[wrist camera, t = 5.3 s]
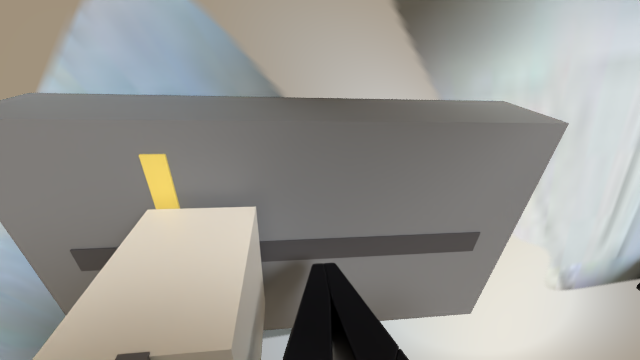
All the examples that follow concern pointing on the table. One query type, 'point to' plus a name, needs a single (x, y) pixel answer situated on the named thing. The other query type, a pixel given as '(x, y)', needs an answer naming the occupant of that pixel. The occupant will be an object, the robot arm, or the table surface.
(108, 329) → the fader tab
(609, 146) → the table surface
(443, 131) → the fader console
